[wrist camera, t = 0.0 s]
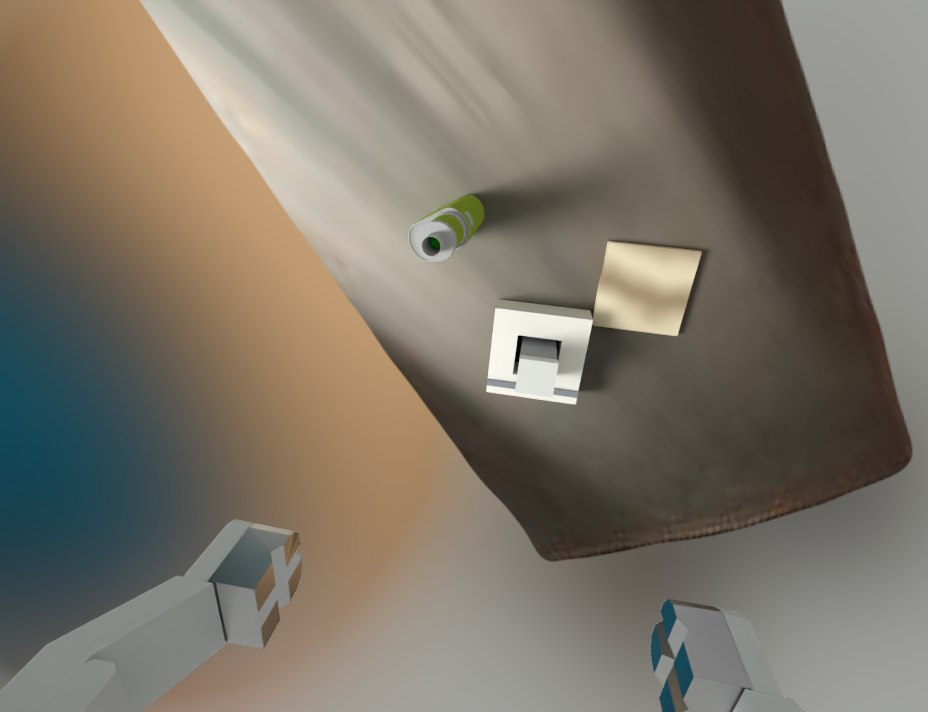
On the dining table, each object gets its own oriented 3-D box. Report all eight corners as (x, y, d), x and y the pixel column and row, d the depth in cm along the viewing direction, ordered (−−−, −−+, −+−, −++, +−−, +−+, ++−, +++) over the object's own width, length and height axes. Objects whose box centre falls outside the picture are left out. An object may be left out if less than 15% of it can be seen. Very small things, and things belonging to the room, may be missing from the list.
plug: (522, 328, 59) (519, 358, 51) (556, 333, 58) (558, 363, 50) (518, 359, 60) (514, 392, 52) (551, 363, 60) (552, 397, 52)
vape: (490, 220, 54) (464, 257, 36) (445, 241, 56) (398, 288, 38) (477, 189, 53) (443, 212, 35) (431, 212, 54) (376, 245, 36)
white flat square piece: (498, 299, 57) (495, 308, 54) (590, 310, 56) (593, 321, 53) (489, 379, 62) (485, 392, 59) (573, 391, 61) (575, 405, 58)
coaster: (607, 240, 53) (608, 242, 52) (699, 250, 52) (702, 251, 51) (590, 323, 57) (591, 325, 56) (675, 333, 56) (677, 336, 55)
